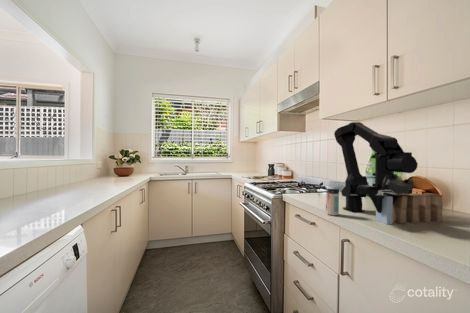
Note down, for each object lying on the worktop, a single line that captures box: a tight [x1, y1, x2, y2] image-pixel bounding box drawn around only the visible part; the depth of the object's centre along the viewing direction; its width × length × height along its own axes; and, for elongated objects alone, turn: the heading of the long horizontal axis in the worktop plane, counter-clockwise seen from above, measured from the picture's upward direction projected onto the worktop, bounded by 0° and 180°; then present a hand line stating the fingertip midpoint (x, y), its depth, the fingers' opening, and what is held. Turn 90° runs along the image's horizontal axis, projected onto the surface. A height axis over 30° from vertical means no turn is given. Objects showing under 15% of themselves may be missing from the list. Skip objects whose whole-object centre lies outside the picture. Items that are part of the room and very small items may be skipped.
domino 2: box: [400, 194, 419, 224], centre depth 81 cm, size 5×2×10 cm, turn 10°
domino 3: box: [411, 192, 431, 223], centre depth 82 cm, size 5×2×10 cm, turn 10°
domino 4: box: [423, 192, 444, 223], centre depth 83 cm, size 5×2×10 cm, turn 10°
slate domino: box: [375, 193, 393, 225], centre depth 80 cm, size 5×2×10 cm, turn 10°
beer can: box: [325, 184, 340, 217], centre depth 89 cm, size 5×5×12 cm
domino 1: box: [392, 195, 408, 224], centre depth 81 cm, size 5×2×10 cm, turn 10°
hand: (383, 212), depth 80 cm, fingers open, 3 cm apart
